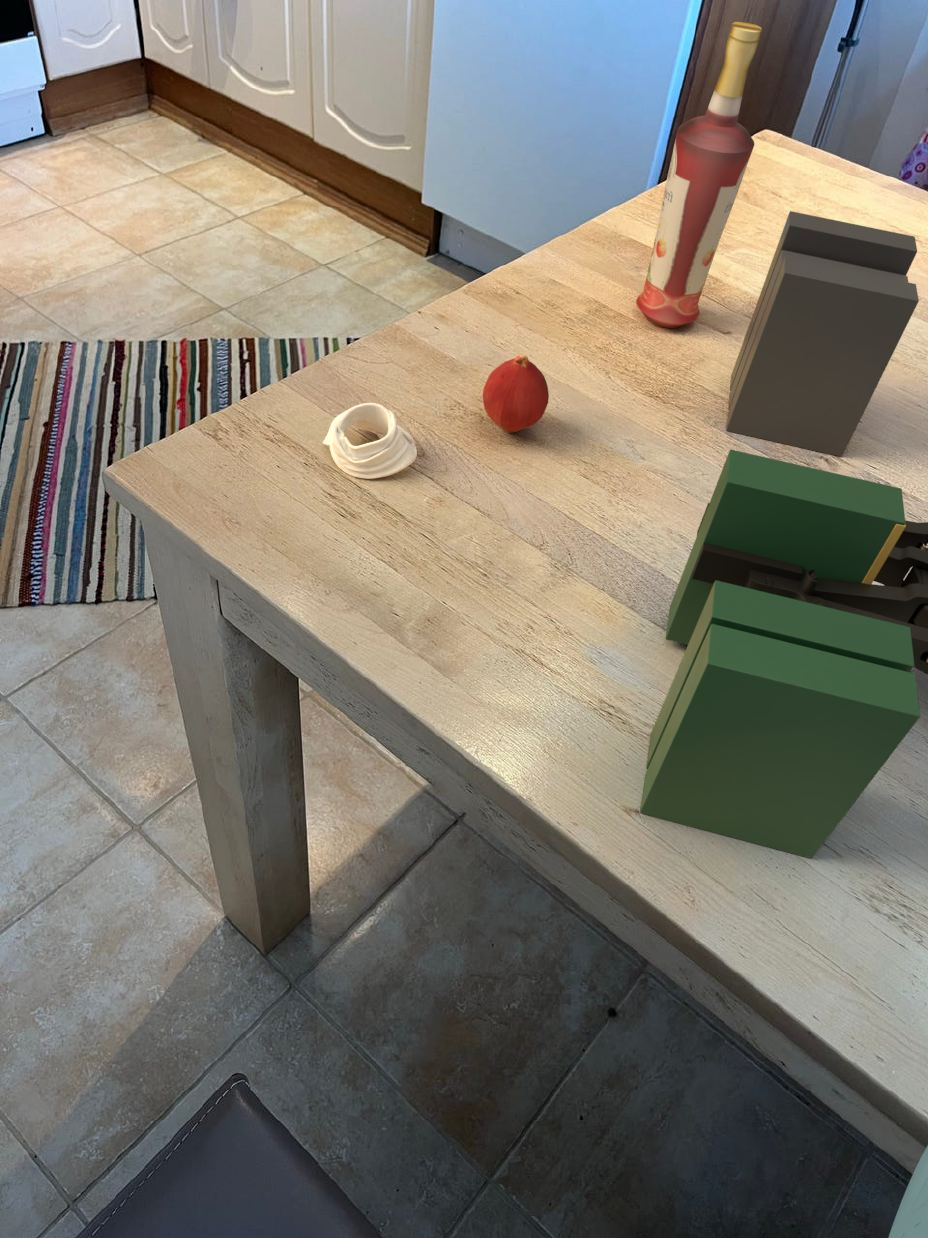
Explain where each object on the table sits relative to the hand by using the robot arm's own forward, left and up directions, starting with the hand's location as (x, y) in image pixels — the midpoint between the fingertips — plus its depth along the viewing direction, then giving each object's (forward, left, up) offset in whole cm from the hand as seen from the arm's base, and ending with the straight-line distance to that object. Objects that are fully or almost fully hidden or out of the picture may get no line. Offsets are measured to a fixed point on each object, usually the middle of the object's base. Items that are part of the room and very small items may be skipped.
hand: (700, 540), depth 65 cm
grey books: (+34, -3, -9) cm, 35 cm away
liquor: (+45, +13, -9) cm, 48 cm away
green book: (+1, -5, -8) cm, 10 cm away
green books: (-12, -8, -9) cm, 17 cm away
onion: (+17, +20, -9) cm, 28 cm away
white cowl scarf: (+7, +29, -9) cm, 31 cm away
